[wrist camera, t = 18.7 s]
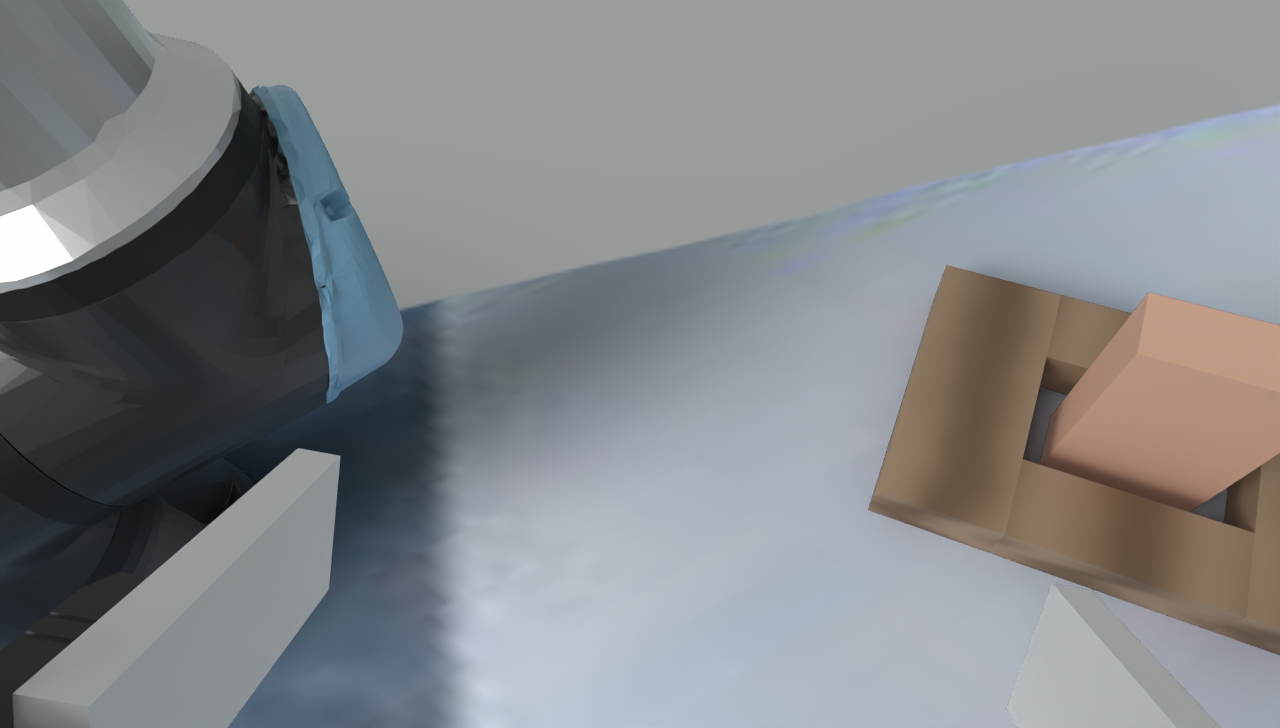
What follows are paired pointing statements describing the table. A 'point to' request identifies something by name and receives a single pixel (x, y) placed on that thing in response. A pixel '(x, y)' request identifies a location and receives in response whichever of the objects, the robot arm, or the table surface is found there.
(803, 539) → the table surface
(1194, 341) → the salmon rectangular block
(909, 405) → the slotted rack
